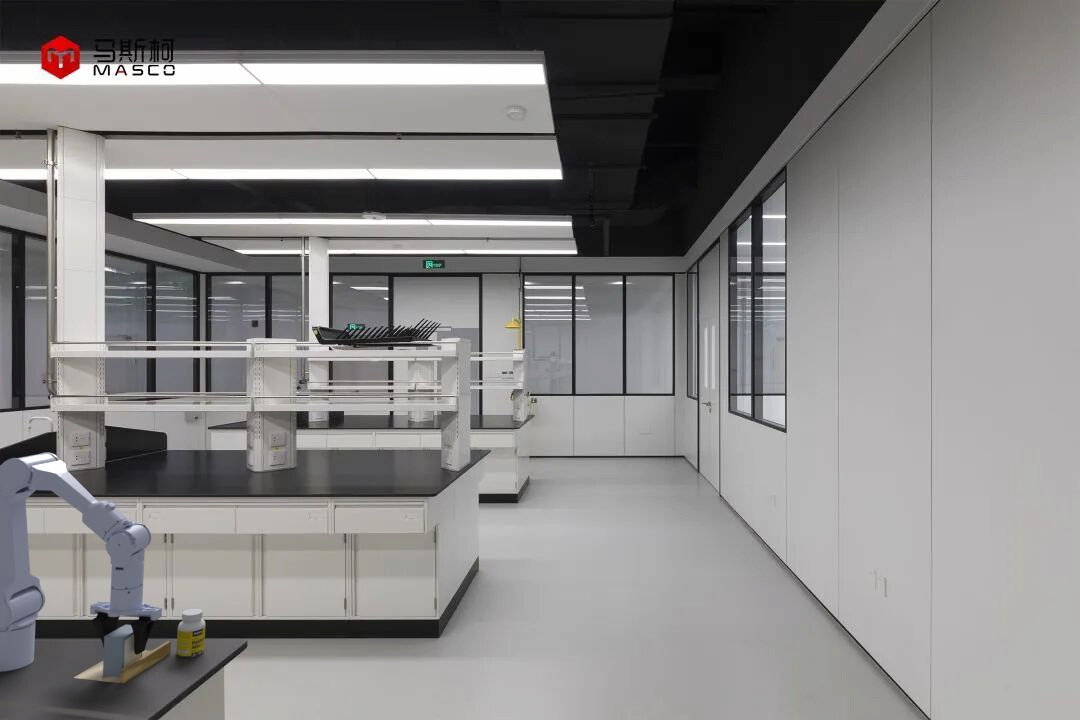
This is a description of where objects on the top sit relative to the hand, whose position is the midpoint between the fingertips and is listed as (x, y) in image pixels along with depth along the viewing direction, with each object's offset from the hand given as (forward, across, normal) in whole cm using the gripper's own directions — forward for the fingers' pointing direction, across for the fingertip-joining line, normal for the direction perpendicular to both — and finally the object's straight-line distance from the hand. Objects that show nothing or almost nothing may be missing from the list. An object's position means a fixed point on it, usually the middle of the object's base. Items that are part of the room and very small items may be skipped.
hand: (124, 650), depth 139 cm
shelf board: (+5, -2, +2) cm, 5 cm away
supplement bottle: (+5, +8, +10) cm, 14 cm away
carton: (+4, 0, 0) cm, 4 cm away
